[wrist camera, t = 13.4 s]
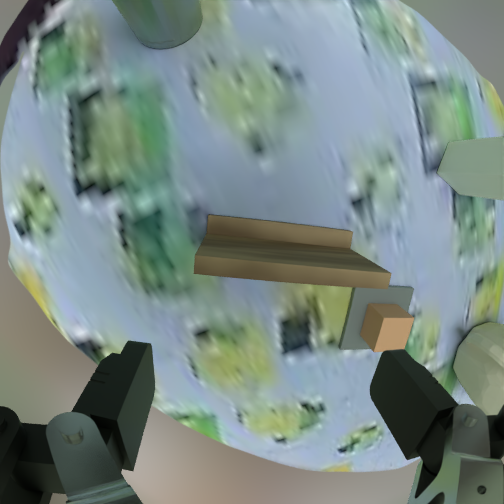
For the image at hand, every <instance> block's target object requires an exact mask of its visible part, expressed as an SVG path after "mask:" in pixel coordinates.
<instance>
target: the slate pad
mask: <svg viewBox="0 0 504 504" xmlns="http://www.w3.org/2000/svg"><path fill="white" fill-rule="evenodd" d="M413 290H414V288H412V287H406V286H390V285H389V286H388V289H373V288H357V287H353V290H352V295H351V299H350V304H349V308H348V312H347V316H346V320H345V324H344V328H343V332H342V336H341V340H340V344H339V348H340V350H349V349H371V348H370V347H369V345H368V344H367V343H366V342H365V340H364V339H363V338H362V337H361V335H360V333H361V329H362V326H363V322H364V318H365V314H366V311H367V307H368V303H377V304H397V305H399V306H400V307H401V308H402V309H404V310H405V311H406V312H408V309H409V305H410V302H411V298H412V294H413Z"/></svg>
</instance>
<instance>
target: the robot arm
mask: <svg viewBox="0 0 504 504" xmlns="http://www.w3.org/2000/svg"><path fill="white" fill-rule="evenodd" d="M112 1H113V3H114V4H115V6H116V7H117V9H118V10H119V11H120V13H121V14H122V16H123V17H124V19H125V20H126V22H127V23H128V25H129V26H130V28H131V29H132V30H133V32H134V33H135V35H136V36H137V38H138V39H139V41H140V42H141V43H143V44H144V45H146V46H148V47H151V48H155V49H165V48H171V47H175V46H177V45H180V44H182V43H184V42H185V41H187V40H189V39H190V38H191V37H192V36H193V35H194V34H195V33H196V32H197V31H198V29H199V27H200V25H201V22H202V12H201V6H200V0H112ZM154 391H155V377H154V366H153V354H152V346H151V344H150V343H143V342H136V341H128V342H127V343H126V345H125V347H124V348H123V350H122V352H121V354H116V353H111V354H110V355H109V356H107V357H106V358H104V359H103V360H101V362H100V364H99V365H98V367H97V368H96V370H95V373H93V375H92V377H91V379H90V381H89V382H88V384H87V385H86V387H85V389H84V391H83V392H82V394H81V396H80V398H79V399H78V401H77V403H76V405H75V406H74V408H73V410H72V411H71V412H66V413H62V414H59V415H57V416H55V417H54V418H53V419H52V420H51V421H50V422H49V423H48V425H41V424H29V423H21V422H20V420H19V418H18V416H17V414H16V413H15V412H14V411H13V410H11V409H9V408H7V407H3V406H0V504H49V503H50V500H51V496H52V493H60V494H66V495H67V498H68V501H66V504H143V503H142V502H141V500H140V499H139V497H138V496H137V494H136V493H135V492H134V490H133V489H132V487H131V486H130V485H128V484H127V482H126V480H125V479H124V477H123V475H122V474H121V471H122V469H125V470H129V471H133V470H134V466H135V463H136V458H137V455H138V451H139V447H140V443H141V440H142V436H143V432H144V429H145V425H146V422H147V418H148V414H149V411H150V408H151V404H152V401H153V397H154ZM370 396H371V399H372V401H373V402H374V404H375V406H376V408H377V409H378V411H379V413H380V414H381V416H382V418H383V419H384V421H385V423H386V425H387V426H388V428H389V430H390V431H391V433H392V435H393V437H394V438H395V440H396V442H397V444H398V445H399V447H400V449H401V451H402V452H403V454H404V456H405V458H406V459H407V460H409V459H413V458H416V457H419V456H420V457H421V461H420V462H419V464H418V466H417V470H416V474H415V478H414V482H413V486H412V489H411V493H410V497H409V500H408V503H407V504H504V464H503V462H502V460H501V458H502V457H503V456H504V405H503V406H502V408H501V409H500V411H499V413H498V414H497V415H486V414H485V413H484V412H483V411H482V410H481V409H480V408H478V407H476V406H474V405H471V404H461V405H458V404H457V402H456V401H455V400H454V399H453V398H452V397H451V396H450V394H449V393H448V392H447V391H446V390H445V389H444V388H443V387H442V385H441V384H440V383H439V384H438V381H437V380H436V379H435V378H434V377H432V374H431V373H430V372H429V371H428V370H427V369H426V368H425V367H424V366H422V365H421V364H419V363H418V362H416V361H415V360H414V359H413V358H412V357H411V356H410V355H409V354H408V353H407V352H406V351H405V350H404V349H396V350H385V351H384V352H383V353H382V354H381V357H380V360H379V363H378V365H377V368H376V371H375V374H374V376H373V379H372V382H371V385H370Z"/></svg>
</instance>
